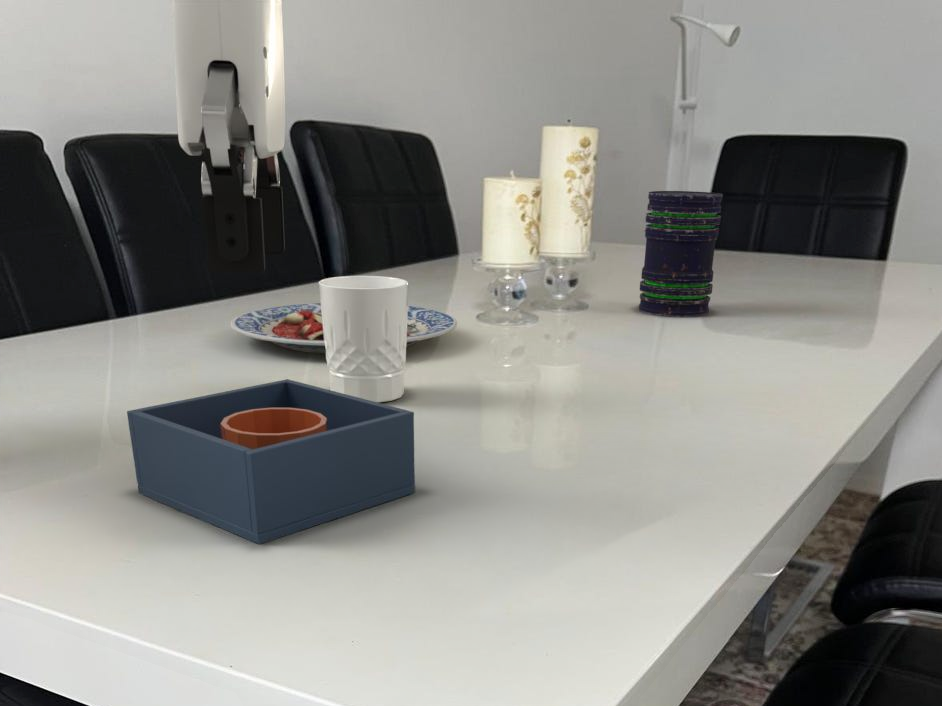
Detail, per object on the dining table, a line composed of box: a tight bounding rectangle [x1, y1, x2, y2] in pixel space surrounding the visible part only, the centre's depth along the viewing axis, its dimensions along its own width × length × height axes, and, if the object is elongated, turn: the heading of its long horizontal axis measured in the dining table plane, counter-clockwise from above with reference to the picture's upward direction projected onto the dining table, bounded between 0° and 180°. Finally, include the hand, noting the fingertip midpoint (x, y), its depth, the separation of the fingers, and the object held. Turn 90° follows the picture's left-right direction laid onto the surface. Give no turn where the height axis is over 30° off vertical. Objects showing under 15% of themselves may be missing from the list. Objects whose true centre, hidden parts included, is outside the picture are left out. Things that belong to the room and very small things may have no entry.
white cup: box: [318, 275, 409, 403], centre depth 90 cm, size 8×8×10 cm
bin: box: [126, 378, 416, 545], centre depth 66 cm, size 13×13×6 cm
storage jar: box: [638, 190, 724, 318], centre depth 135 cm, size 10×10×15 cm
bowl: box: [220, 408, 328, 449], centre depth 66 cm, size 7×7×4 cm
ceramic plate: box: [230, 302, 458, 355], centre depth 115 cm, size 26×26×3 cm
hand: (249, 262), depth 61 cm, fingers open, 9 cm apart
